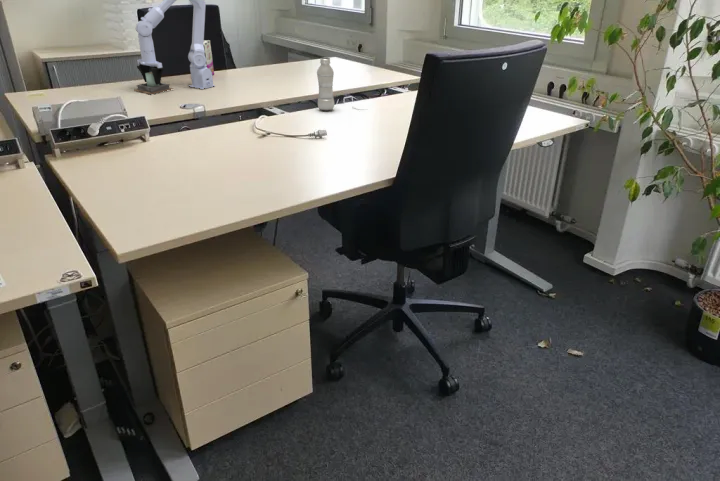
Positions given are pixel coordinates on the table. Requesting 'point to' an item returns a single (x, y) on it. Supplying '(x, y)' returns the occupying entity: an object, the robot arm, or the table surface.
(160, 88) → the holder
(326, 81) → the plastic bottle
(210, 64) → the candy bar box
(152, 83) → the roll
